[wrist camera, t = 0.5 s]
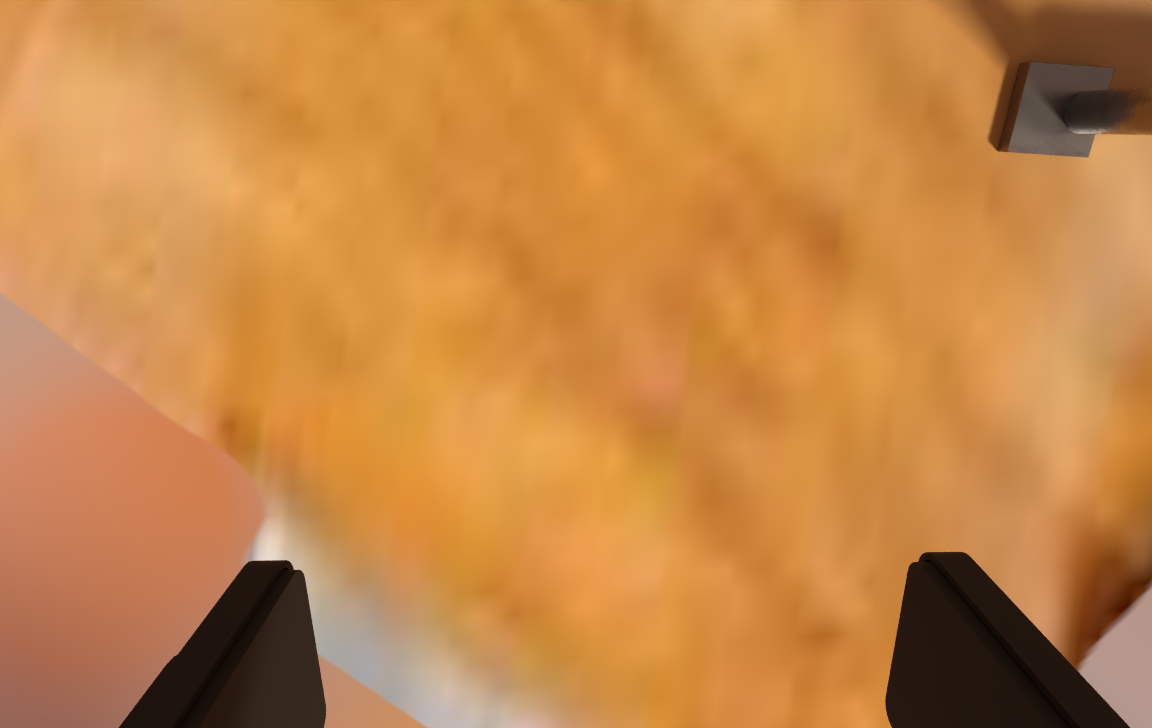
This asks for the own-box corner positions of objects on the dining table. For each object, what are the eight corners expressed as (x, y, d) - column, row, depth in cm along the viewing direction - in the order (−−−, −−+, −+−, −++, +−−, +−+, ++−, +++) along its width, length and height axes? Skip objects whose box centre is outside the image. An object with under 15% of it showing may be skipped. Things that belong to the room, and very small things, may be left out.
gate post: (1020, 63, 41) (1251, 32, 27) (1108, 69, 41) (1384, 41, 27) (997, 151, 42) (1204, 163, 28) (1082, 157, 42) (1329, 172, 29)
